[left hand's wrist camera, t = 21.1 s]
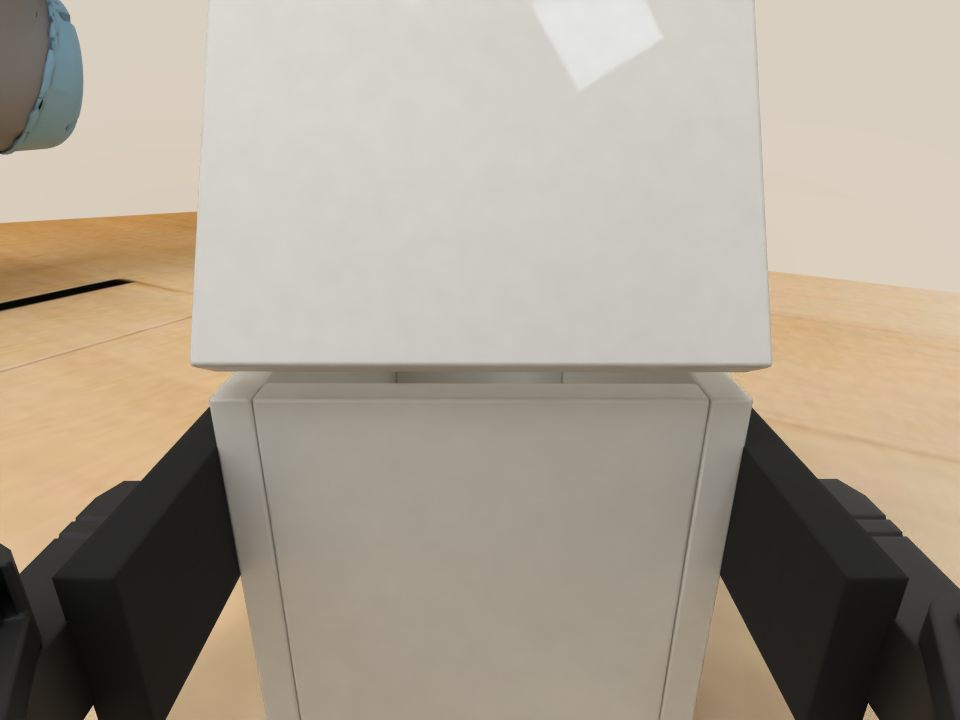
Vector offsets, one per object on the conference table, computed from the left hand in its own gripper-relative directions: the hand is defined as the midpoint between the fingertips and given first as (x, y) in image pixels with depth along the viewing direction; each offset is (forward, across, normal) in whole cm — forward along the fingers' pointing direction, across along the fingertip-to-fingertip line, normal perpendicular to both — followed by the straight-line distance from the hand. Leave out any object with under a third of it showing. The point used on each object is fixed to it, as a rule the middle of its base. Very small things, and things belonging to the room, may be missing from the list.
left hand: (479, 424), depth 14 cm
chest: (+5, 0, -7) cm, 9 cm away
